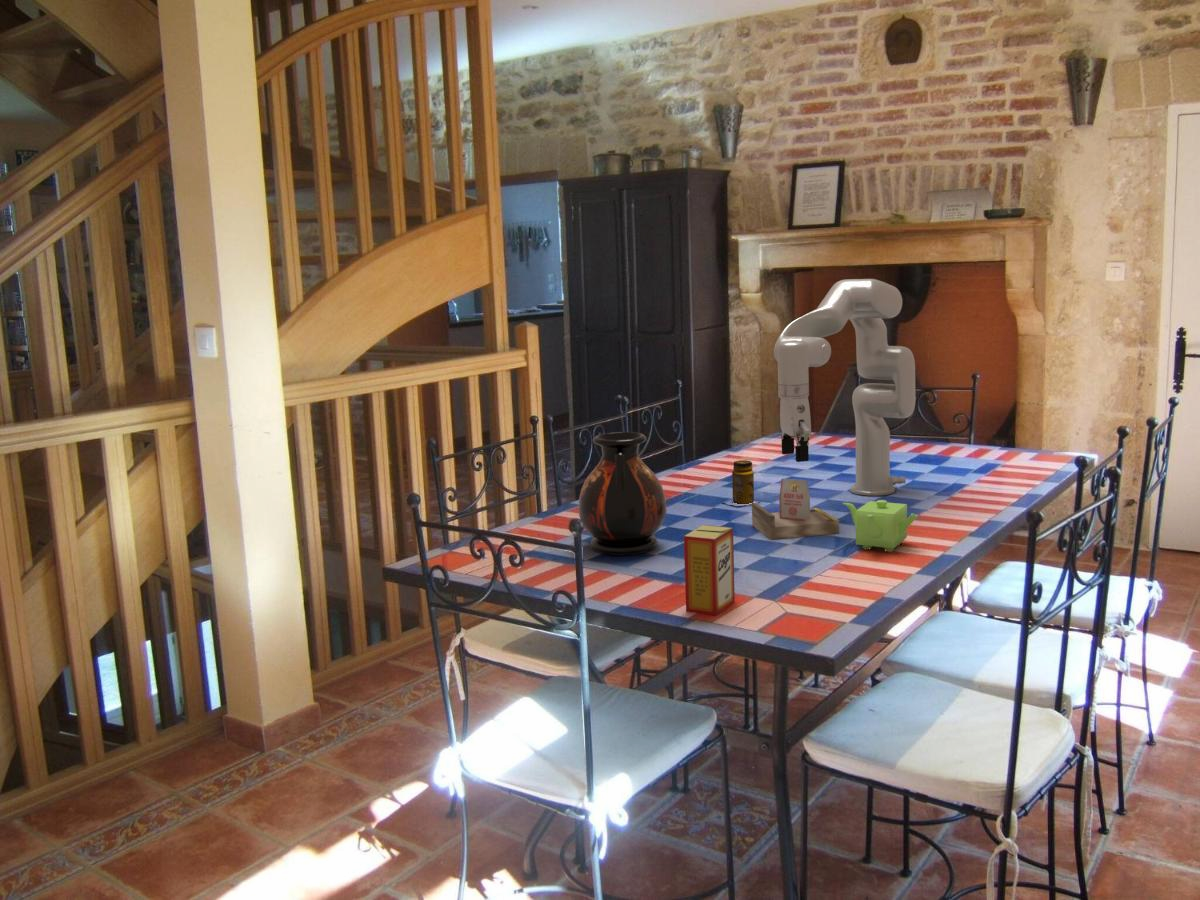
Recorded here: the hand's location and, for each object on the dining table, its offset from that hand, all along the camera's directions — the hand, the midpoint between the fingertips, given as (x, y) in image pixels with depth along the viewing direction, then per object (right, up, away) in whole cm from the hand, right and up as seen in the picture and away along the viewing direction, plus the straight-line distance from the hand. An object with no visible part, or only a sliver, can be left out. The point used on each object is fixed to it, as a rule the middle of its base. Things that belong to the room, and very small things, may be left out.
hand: (795, 457), depth 263 cm
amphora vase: (-43, -22, -7) cm, 49 cm away
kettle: (+17, -21, -15) cm, 31 cm away
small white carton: (0, -16, +3) cm, 16 cm away
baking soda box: (-27, -30, -52) cm, 66 cm away
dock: (0, -18, +3) cm, 19 cm away
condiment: (-9, -14, +33) cm, 37 cm away
